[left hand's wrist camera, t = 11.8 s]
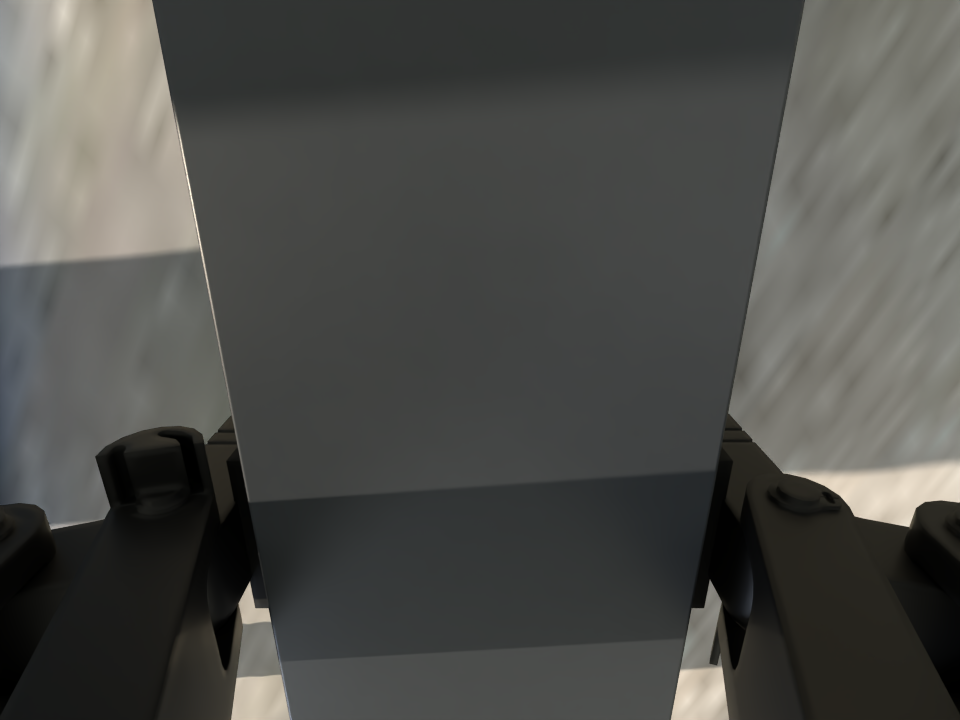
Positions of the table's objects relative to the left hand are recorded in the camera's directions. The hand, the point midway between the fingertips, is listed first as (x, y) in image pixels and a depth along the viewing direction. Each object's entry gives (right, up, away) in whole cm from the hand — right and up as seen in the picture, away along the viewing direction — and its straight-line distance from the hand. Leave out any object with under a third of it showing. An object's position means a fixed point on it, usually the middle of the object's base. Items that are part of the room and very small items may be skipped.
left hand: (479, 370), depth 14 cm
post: (0, +31, -12) cm, 33 cm away
